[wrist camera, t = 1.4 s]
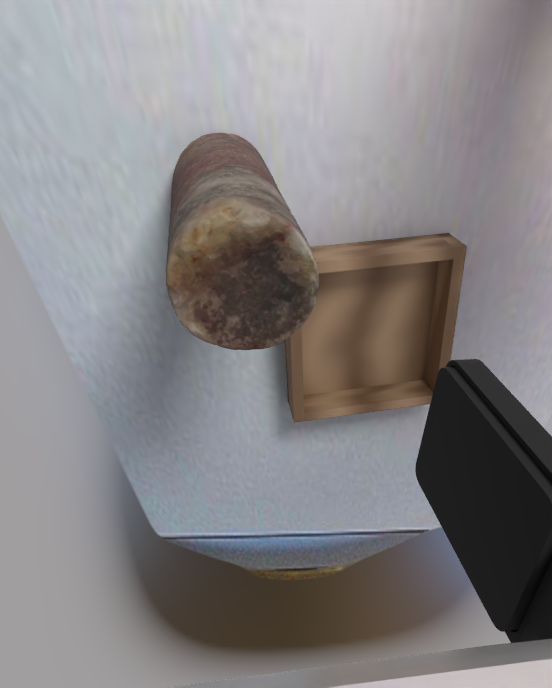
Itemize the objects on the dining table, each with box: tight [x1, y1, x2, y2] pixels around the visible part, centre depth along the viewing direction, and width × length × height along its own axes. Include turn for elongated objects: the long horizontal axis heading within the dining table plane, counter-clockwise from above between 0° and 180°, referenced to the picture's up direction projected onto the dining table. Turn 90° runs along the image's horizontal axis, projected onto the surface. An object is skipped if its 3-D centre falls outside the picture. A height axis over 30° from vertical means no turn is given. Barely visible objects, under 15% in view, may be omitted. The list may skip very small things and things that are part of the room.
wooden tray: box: [285, 233, 467, 422], centre depth 47 cm, size 15×16×4 cm
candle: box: [166, 133, 319, 350], centre depth 32 cm, size 8×7×20 cm
